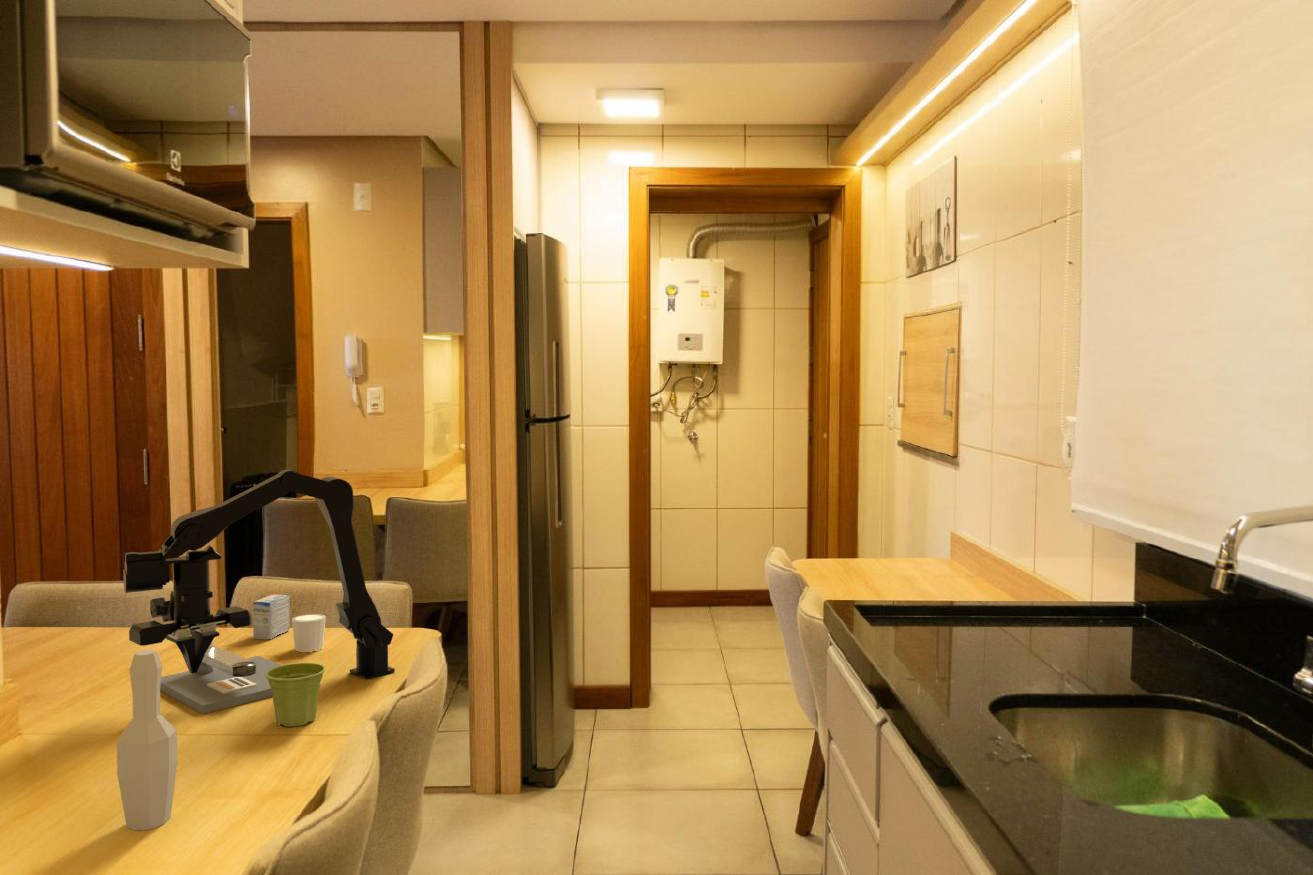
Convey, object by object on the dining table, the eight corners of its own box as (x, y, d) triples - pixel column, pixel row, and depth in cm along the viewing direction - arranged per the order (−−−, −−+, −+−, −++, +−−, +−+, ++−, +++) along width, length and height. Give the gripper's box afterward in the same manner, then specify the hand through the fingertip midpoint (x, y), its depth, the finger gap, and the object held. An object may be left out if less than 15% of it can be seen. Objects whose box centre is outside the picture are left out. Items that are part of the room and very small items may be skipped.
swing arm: (189, 660, 169) (188, 639, 169) (210, 655, 172) (210, 635, 172) (237, 683, 156) (237, 661, 156) (260, 678, 159) (260, 656, 159)
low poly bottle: (107, 831, 110) (104, 658, 109) (146, 808, 117) (143, 644, 116) (151, 836, 109) (147, 661, 108) (188, 813, 115) (185, 647, 114)
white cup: (318, 653, 188) (318, 621, 188) (286, 653, 188) (286, 621, 188) (330, 644, 195) (330, 613, 194) (300, 644, 195) (299, 613, 195)
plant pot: (266, 715, 151) (266, 665, 151) (325, 708, 155) (324, 659, 154) (264, 734, 143) (263, 681, 142) (326, 726, 146) (326, 675, 146)
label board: (312, 685, 167) (312, 667, 167) (203, 714, 152) (202, 694, 151) (258, 663, 181) (258, 646, 181) (153, 686, 166) (153, 668, 166)
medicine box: (272, 630, 207) (272, 594, 206) (290, 631, 206) (290, 594, 206) (252, 639, 199) (252, 601, 198) (271, 640, 198) (270, 602, 198)
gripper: (225, 572, 168) (226, 652, 169) (116, 588, 154) (118, 675, 155) (252, 580, 161) (253, 664, 162) (140, 597, 147) (142, 689, 148)
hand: (193, 672), depth 157 cm, fingers closed
